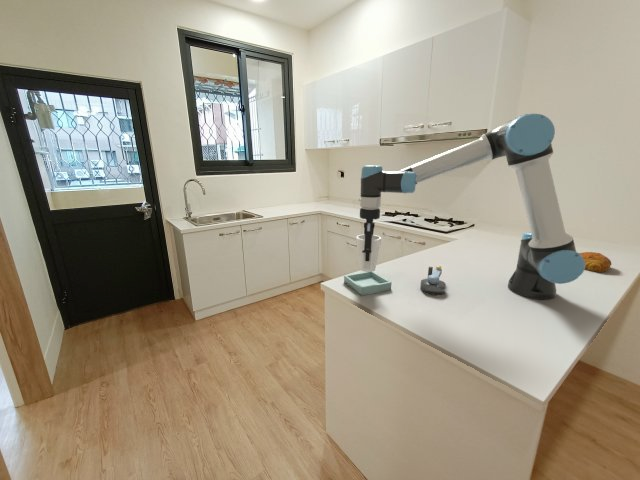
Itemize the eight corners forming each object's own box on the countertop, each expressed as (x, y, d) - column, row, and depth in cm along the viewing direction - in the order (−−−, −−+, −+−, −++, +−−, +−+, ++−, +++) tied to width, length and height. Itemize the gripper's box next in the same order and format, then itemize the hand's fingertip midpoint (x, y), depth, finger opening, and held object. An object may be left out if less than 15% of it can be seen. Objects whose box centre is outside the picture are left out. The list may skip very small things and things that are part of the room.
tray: (391, 289, 116) (391, 282, 115) (361, 295, 110) (361, 288, 110) (371, 277, 128) (372, 270, 127) (344, 282, 123) (344, 275, 122)
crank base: (451, 292, 113) (453, 276, 111) (432, 297, 109) (433, 280, 107) (429, 281, 123) (430, 266, 122) (410, 285, 120) (411, 270, 118)
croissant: (608, 270, 140) (613, 254, 139) (609, 275, 129) (614, 257, 127) (569, 262, 150) (573, 247, 148) (567, 266, 139) (571, 250, 137)
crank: (437, 285, 111) (438, 277, 110) (426, 283, 113) (427, 275, 112) (443, 274, 122) (444, 266, 121) (433, 272, 124) (434, 264, 123)
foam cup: (364, 274, 111) (365, 241, 108) (350, 267, 119) (351, 236, 116) (384, 270, 115) (386, 238, 112) (369, 263, 123) (371, 233, 120)
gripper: (361, 203, 122) (359, 254, 128) (357, 212, 101) (355, 273, 107) (380, 203, 121) (377, 255, 126) (380, 213, 100) (376, 275, 106)
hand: (367, 263), depth 117 cm, fingers closed on foam cup, 9 cm apart
